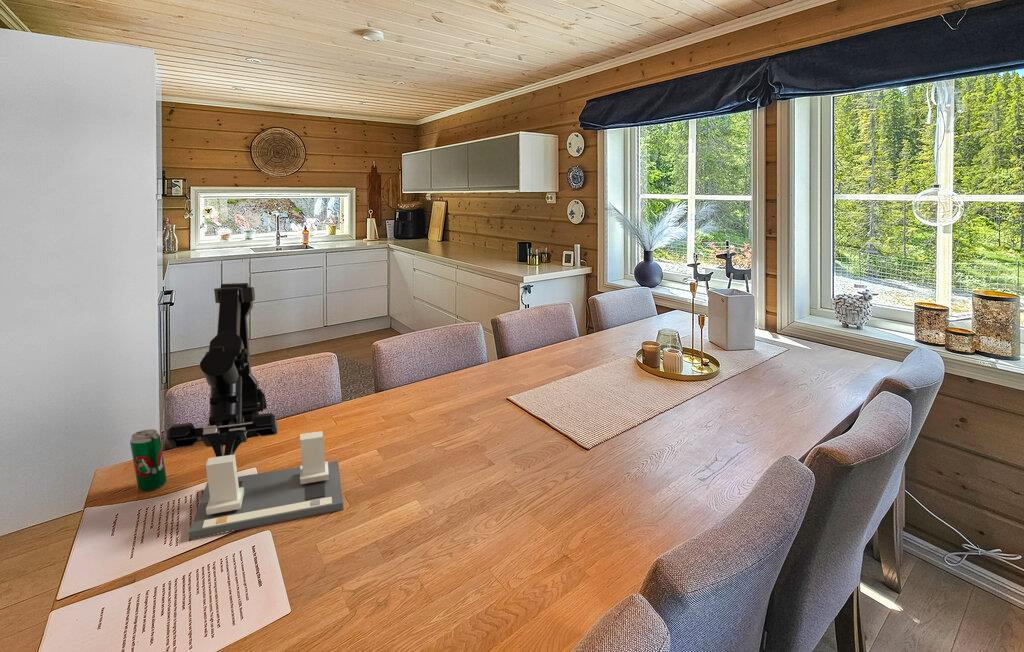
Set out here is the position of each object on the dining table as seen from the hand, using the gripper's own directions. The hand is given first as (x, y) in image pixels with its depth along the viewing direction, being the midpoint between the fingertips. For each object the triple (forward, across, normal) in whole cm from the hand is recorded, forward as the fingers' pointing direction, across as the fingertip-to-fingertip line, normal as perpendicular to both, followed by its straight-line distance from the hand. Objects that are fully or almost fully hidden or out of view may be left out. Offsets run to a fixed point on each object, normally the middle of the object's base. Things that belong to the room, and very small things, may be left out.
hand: (224, 471), depth 96 cm
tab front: (+5, 0, -3) cm, 6 cm away
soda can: (-5, +16, -16) cm, 23 cm away
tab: (+2, -16, -7) cm, 17 cm away
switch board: (+5, -8, -6) cm, 11 cm away
